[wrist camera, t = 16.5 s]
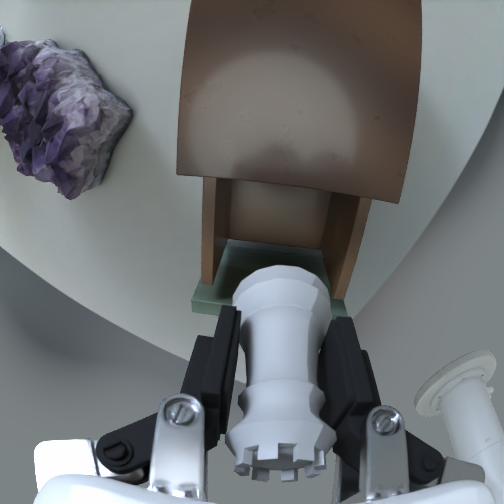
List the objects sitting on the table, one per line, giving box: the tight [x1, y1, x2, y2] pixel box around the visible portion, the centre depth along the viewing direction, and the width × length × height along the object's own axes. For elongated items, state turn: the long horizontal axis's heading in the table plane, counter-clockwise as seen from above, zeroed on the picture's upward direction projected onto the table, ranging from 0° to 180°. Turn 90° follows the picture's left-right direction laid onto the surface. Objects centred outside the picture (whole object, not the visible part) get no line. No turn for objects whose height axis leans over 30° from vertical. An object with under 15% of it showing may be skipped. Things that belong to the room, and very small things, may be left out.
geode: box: [0, 39, 133, 200], centre depth 18 cm, size 20×12×10 cm, turn 39°
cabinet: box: [176, 0, 422, 204], centre depth 16 cm, size 15×13×11 cm
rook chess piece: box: [225, 265, 337, 482], centre depth 9 cm, size 4×4×8 cm
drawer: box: [191, 177, 372, 320], centre depth 22 cm, size 18×11×9 cm, turn 175°
